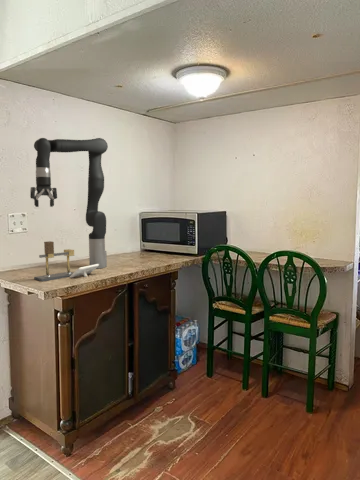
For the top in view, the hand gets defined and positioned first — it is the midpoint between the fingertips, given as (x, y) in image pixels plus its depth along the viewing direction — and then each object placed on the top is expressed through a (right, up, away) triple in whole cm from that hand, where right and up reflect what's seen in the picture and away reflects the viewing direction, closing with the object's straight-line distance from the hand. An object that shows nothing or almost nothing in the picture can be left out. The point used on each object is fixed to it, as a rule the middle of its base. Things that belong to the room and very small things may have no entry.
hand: (44, 206), depth 202 cm
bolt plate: (+10, -37, -11) cm, 40 cm away
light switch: (+23, -37, -6) cm, 45 cm away
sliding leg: (+8, -36, -16) cm, 40 cm away
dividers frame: (+10, -36, -12) cm, 39 cm away
